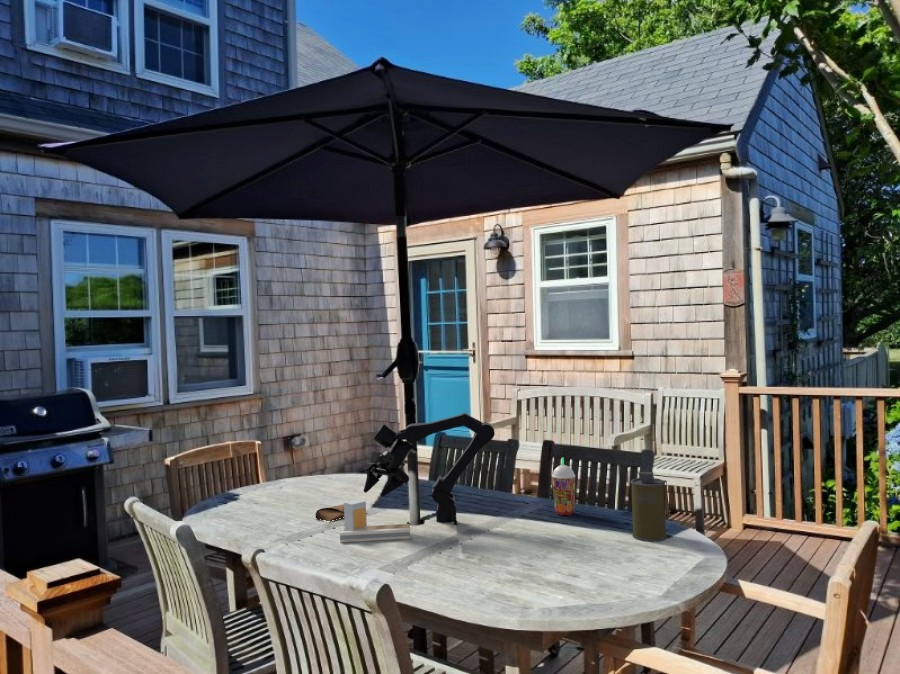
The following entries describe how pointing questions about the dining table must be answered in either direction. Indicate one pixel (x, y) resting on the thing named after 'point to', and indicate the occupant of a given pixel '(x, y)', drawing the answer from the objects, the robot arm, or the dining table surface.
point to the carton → (355, 515)
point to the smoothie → (563, 489)
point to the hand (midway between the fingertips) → (372, 494)
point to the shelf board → (384, 528)
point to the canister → (649, 507)
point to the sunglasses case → (330, 513)
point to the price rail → (375, 535)
